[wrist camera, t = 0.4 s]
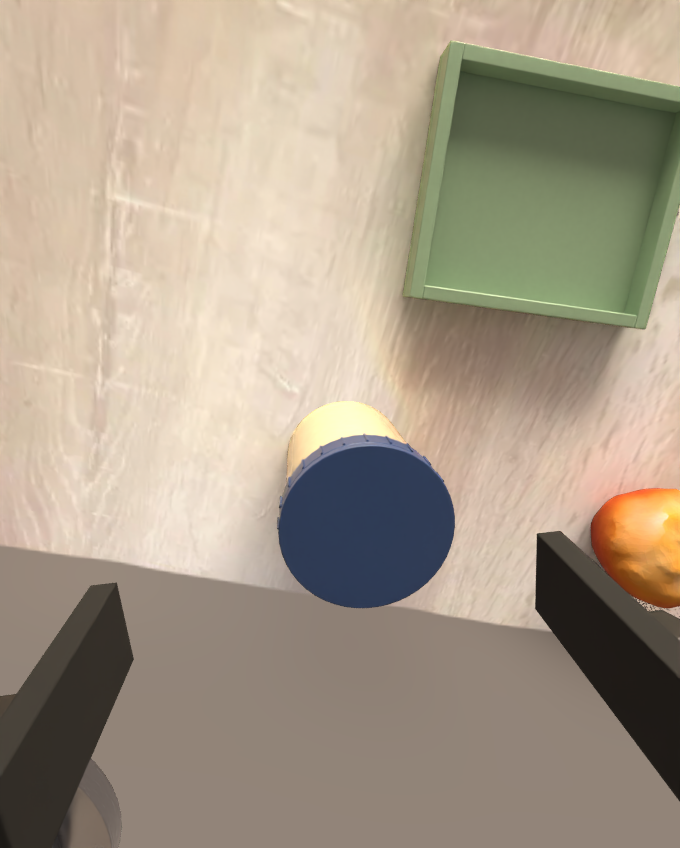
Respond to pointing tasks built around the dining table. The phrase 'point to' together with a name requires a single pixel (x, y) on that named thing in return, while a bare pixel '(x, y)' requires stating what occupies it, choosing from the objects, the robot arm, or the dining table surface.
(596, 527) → the fruit
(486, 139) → the tray
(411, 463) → the lid
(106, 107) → the dining table surface
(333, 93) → the dining table surface
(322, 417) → the jar
